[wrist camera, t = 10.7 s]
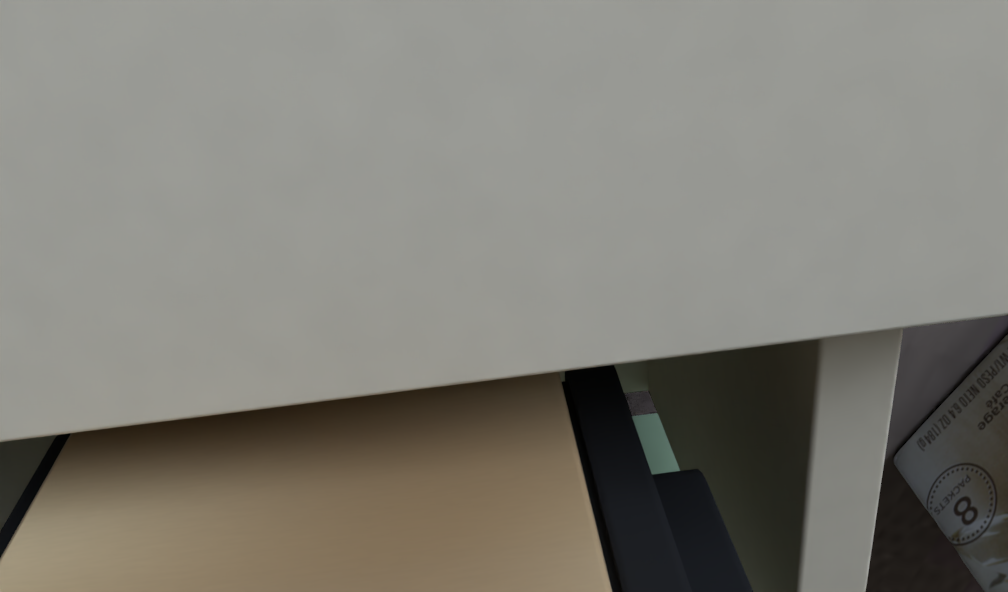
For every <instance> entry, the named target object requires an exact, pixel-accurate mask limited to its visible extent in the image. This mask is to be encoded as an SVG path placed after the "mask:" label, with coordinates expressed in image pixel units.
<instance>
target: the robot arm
mask: <svg viewBox="0 0 1008 592" xmlns="http://www.w3.org/2000/svg"><path fill="white" fill-rule="evenodd" d="M562 386H563V390H564V394H565V398H566V402H567V406H568V411H569V415H570V419H571V423H572V427H573V431H574V435H575V439H576V443H577V448H578V452H579V456H580V460H581V464H582V468H583V472H584V476H585V481H586V485H587V489H588V493H589V497H590V501H591V505H592V509H593V513H594V518H595V522H596V526H597V530H598V534H599V538H600V542H601V546H602V550H603V555H604V559H605V563H606V567H607V571H608V575H609V579H610V583H611V588H612V592H753V590H752V587H751V585H750V582H749V580H748V578H747V575H746V573H745V571H744V568H743V566H742V563H741V561H740V559H739V556H738V554H737V552H736V549H735V547H734V545H733V542H732V540H731V537H730V535H729V533H728V530H727V528H726V526H725V523H724V521H723V518H722V516H721V514H720V511H719V509H718V507H717V504H716V502H715V499H714V497H713V495H712V492H711V490H710V488H709V485H708V483H707V481H706V479H705V477H704V475H703V473H702V472H701V471H700V470H699V469H691V470H683V471H675V472H668V473H660V474H652V473H651V470H650V467H649V464H648V462H647V459H646V456H645V453H644V450H643V447H642V444H641V441H640V438H639V435H638V432H637V430H636V427H635V424H634V421H633V418H632V415H631V412H630V409H629V406H628V403H627V400H626V397H625V395H624V392H623V389H622V386H621V383H620V380H619V377H618V374H617V371H616V368H615V366H614V365H608V366H600V367H592V368H584V369H576V370H569V371H565V381H563V382H562ZM70 434H71V433H68V434H60V435H57V436H56V438H55V439H54V440H53V442H52V444H51V446H50V447H49V449H48V451H47V452H46V454H45V456H44V457H43V459H42V461H41V463H40V464H39V466H38V468H37V469H36V471H35V473H34V474H33V476H32V478H31V480H30V481H29V483H28V485H27V486H26V488H25V490H24V492H23V493H22V495H21V497H20V498H19V500H18V502H17V503H16V505H15V507H14V509H13V510H12V512H11V514H10V515H9V517H8V519H7V520H6V522H5V524H4V526H3V527H2V529H1V531H0V558H1V556H2V554H3V553H4V551H5V549H6V547H7V545H8V544H9V542H10V540H11V538H12V537H13V535H14V533H15V531H16V530H17V528H18V526H19V524H20V523H21V521H22V519H23V517H24V515H25V514H26V512H27V510H28V508H29V507H30V505H31V503H32V501H33V500H34V498H35V496H36V494H37V492H38V491H39V489H40V487H41V485H42V484H43V482H44V480H45V478H46V477H47V475H48V473H49V471H50V469H51V468H52V466H53V464H54V462H55V461H56V459H57V457H58V455H59V454H60V452H61V450H62V448H63V446H64V445H65V443H66V441H67V439H68V438H69V436H70Z"/></svg>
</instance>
